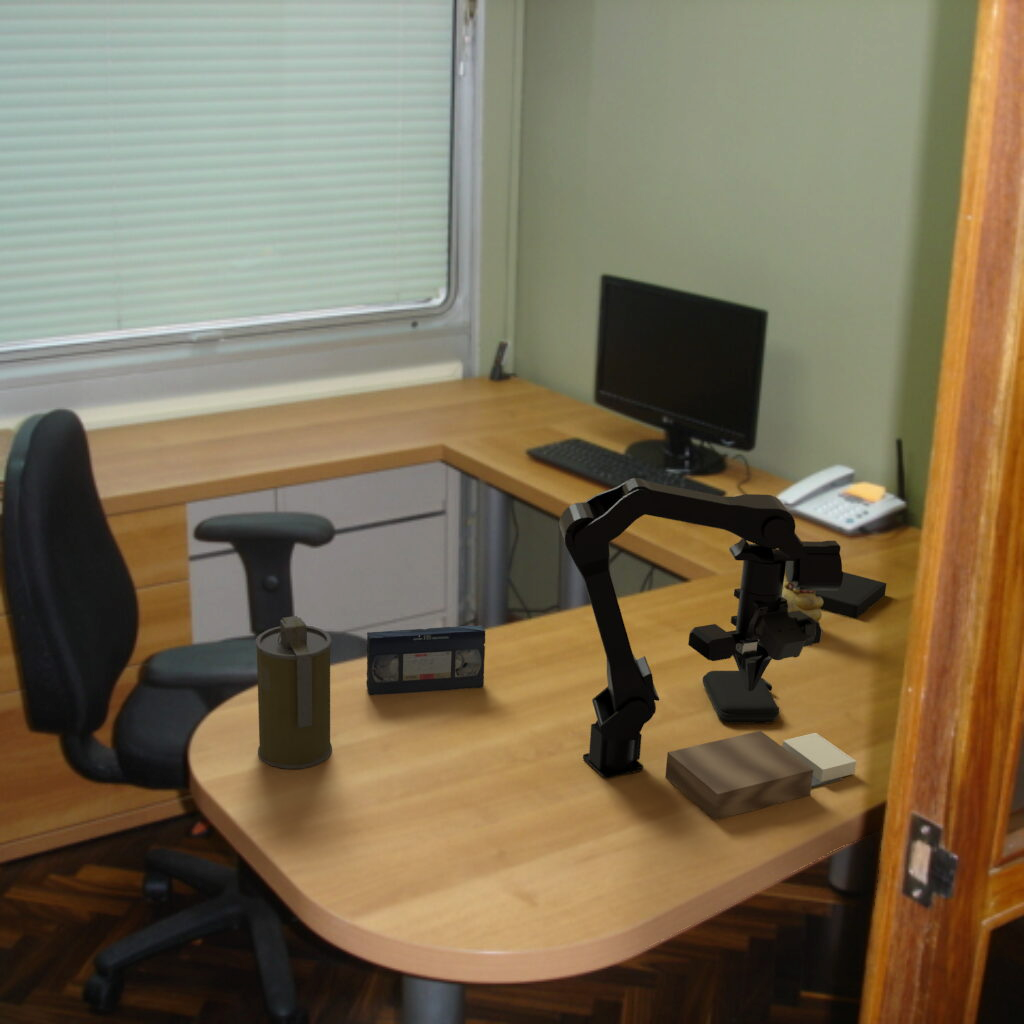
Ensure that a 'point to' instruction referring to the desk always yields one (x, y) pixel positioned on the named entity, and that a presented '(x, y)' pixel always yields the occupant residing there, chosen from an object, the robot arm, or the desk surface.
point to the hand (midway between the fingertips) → (749, 690)
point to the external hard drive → (852, 595)
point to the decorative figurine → (802, 600)
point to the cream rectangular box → (821, 756)
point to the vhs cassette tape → (425, 660)
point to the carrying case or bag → (740, 698)
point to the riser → (738, 774)
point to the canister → (294, 694)
